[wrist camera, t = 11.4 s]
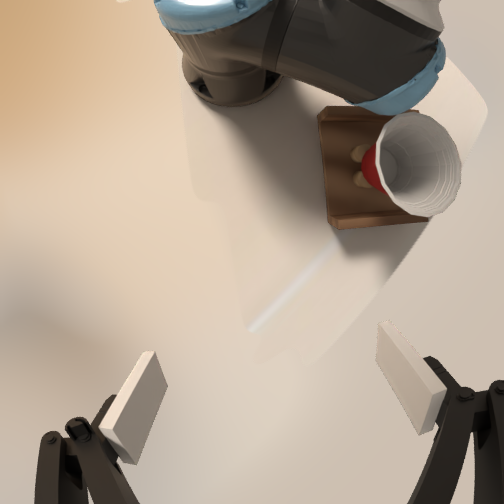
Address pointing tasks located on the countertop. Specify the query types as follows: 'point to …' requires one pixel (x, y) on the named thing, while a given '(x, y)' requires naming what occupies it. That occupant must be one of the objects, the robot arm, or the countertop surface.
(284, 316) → the countertop surface
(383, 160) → the plastic cup
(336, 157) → the peg board
